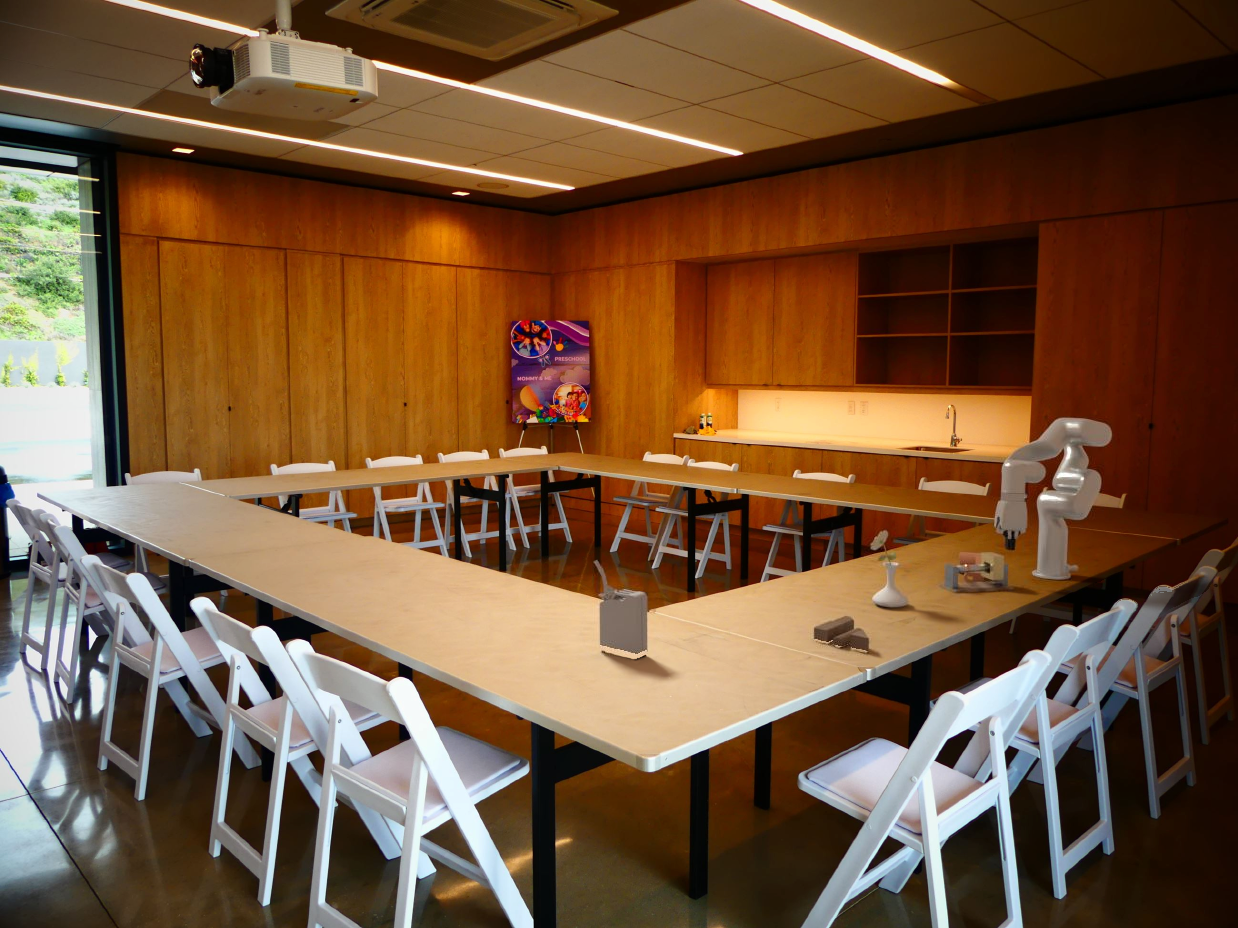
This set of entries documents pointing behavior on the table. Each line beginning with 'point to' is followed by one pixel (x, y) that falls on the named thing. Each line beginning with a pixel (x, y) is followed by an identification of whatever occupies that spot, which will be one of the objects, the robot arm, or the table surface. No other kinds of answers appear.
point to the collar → (993, 565)
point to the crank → (971, 560)
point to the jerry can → (623, 618)
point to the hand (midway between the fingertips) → (1009, 549)
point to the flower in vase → (888, 578)
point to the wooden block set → (842, 633)
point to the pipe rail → (953, 571)
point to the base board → (977, 587)
